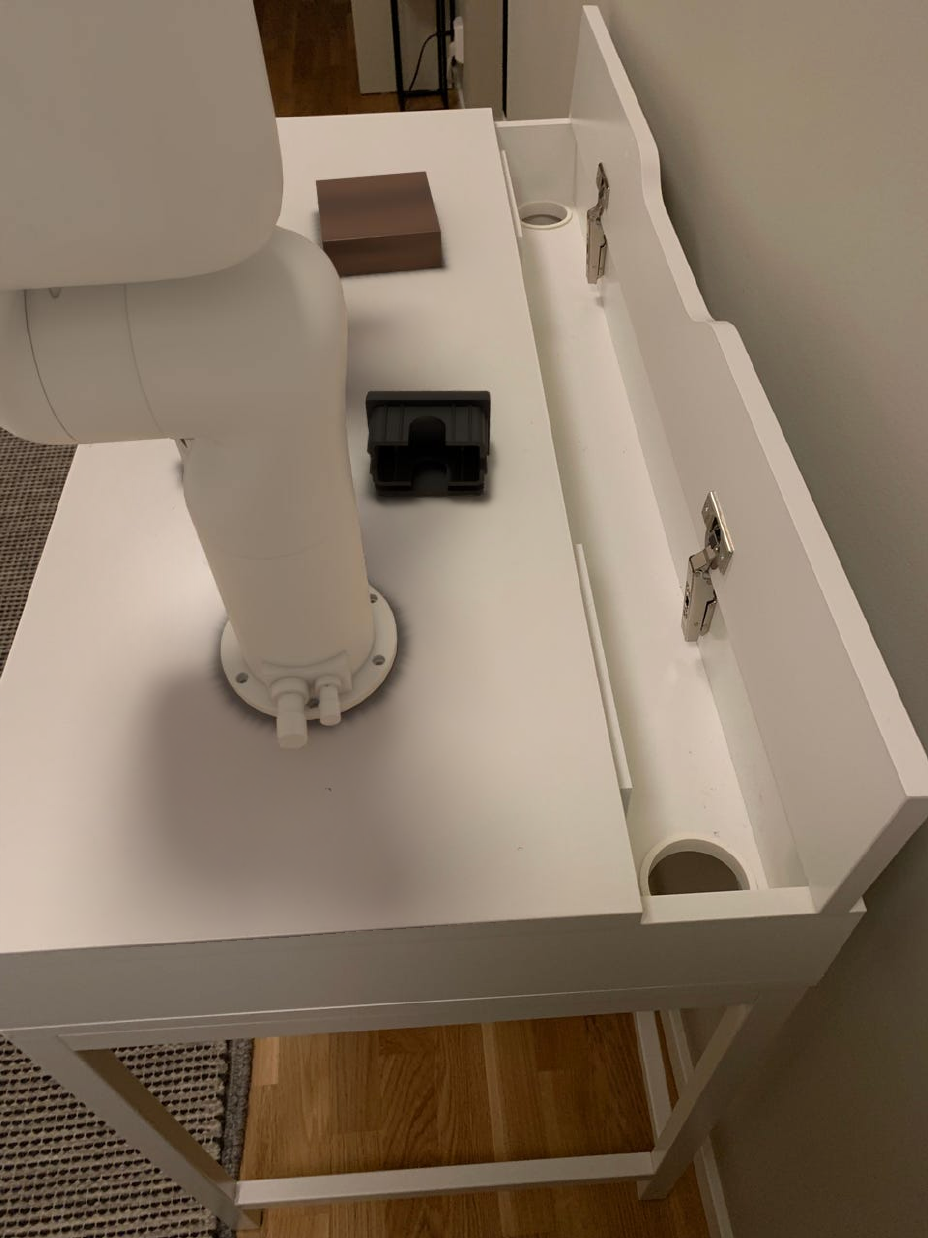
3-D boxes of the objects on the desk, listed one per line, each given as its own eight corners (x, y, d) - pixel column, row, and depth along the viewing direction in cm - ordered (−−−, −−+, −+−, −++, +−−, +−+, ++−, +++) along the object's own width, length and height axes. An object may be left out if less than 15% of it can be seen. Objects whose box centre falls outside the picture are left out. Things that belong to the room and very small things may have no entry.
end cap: (488, 437, 77) (490, 374, 71) (489, 496, 73) (491, 434, 67) (374, 437, 77) (367, 374, 71) (369, 496, 73) (361, 434, 67)
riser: (441, 266, 92) (441, 230, 89) (327, 277, 91) (322, 241, 88) (427, 206, 99) (426, 170, 96) (320, 215, 98) (315, 179, 95)
